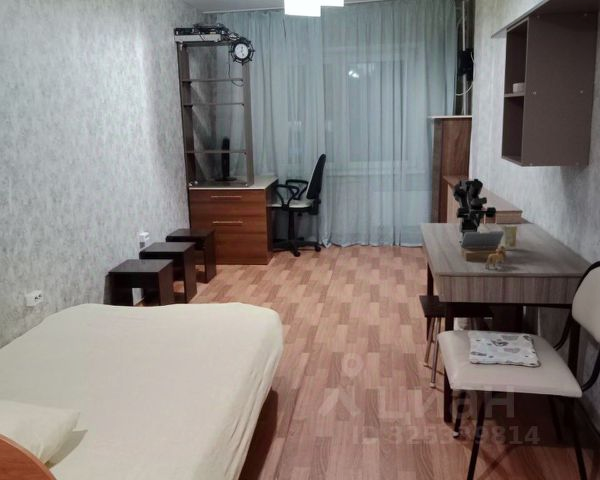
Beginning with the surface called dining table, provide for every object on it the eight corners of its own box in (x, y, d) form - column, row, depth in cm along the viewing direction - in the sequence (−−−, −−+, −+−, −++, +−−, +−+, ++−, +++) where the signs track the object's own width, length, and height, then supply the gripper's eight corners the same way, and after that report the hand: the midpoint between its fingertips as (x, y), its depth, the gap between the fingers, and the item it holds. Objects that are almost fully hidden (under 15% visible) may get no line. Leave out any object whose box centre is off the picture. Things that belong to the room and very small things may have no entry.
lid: (460, 247, 283) (460, 244, 283) (497, 246, 282) (497, 244, 282) (465, 232, 272) (465, 230, 272) (504, 232, 271) (503, 230, 271)
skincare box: (504, 250, 290) (506, 226, 287) (499, 248, 294) (501, 225, 291) (515, 249, 291) (517, 225, 289) (510, 247, 296) (512, 224, 293)
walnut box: (460, 254, 284) (460, 247, 283) (497, 254, 283) (497, 246, 282) (466, 261, 272) (466, 253, 271) (504, 260, 271) (505, 252, 270)
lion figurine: (496, 262, 268) (497, 244, 266) (507, 264, 264) (508, 245, 262) (482, 269, 257) (483, 250, 255) (494, 271, 253) (495, 252, 251)
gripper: (458, 191, 286) (462, 217, 277) (496, 191, 284) (501, 216, 276) (454, 204, 295) (458, 230, 287) (491, 204, 294) (496, 229, 285)
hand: (478, 226), depth 283 cm, fingers closed
